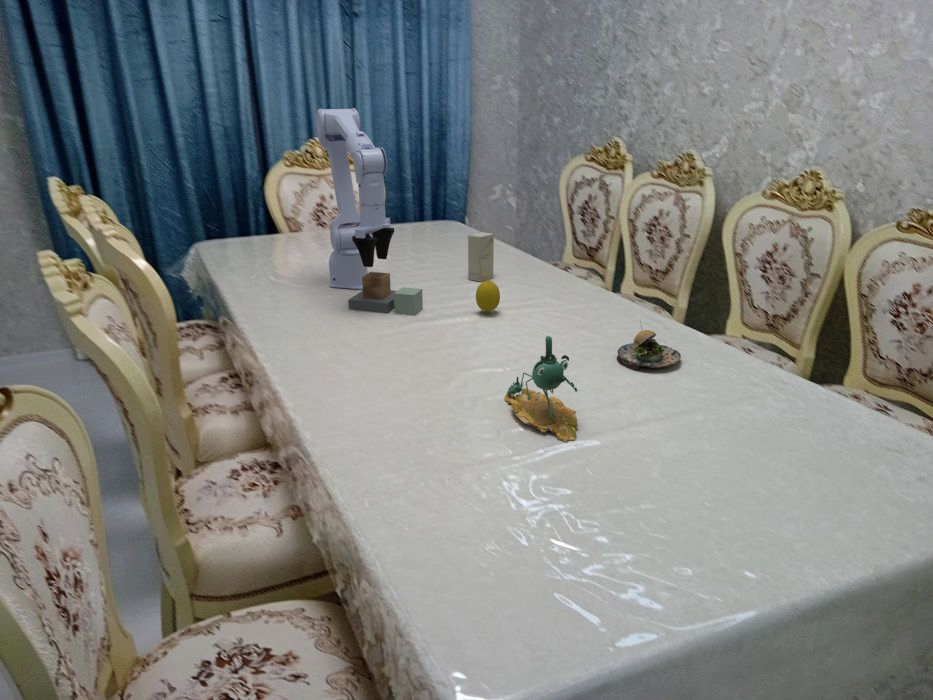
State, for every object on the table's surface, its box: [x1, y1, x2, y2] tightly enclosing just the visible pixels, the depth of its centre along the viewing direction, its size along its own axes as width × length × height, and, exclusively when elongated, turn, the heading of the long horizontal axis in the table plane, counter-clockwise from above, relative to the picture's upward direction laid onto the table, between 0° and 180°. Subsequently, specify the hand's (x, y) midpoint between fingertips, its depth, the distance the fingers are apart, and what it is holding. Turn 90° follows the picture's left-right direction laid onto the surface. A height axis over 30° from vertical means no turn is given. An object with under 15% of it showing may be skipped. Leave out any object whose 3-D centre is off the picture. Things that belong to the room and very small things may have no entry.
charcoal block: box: [347, 289, 397, 315], centre depth 158 cm, size 10×10×3 cm
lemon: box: [475, 279, 501, 314], centre depth 151 cm, size 6×6×8 cm
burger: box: [616, 321, 682, 372], centre depth 125 cm, size 12×12×8 cm
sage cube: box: [394, 286, 424, 316], centre depth 153 cm, size 5×5×5 cm
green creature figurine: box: [504, 335, 579, 443], centre depth 102 cm, size 10×18×15 cm, turn 22°
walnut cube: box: [362, 271, 392, 299], centre depth 157 cm, size 5×5×5 cm
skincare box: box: [467, 231, 495, 283], centre depth 178 cm, size 6×4×12 cm
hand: (375, 262), depth 155 cm, fingers open, 7 cm apart
